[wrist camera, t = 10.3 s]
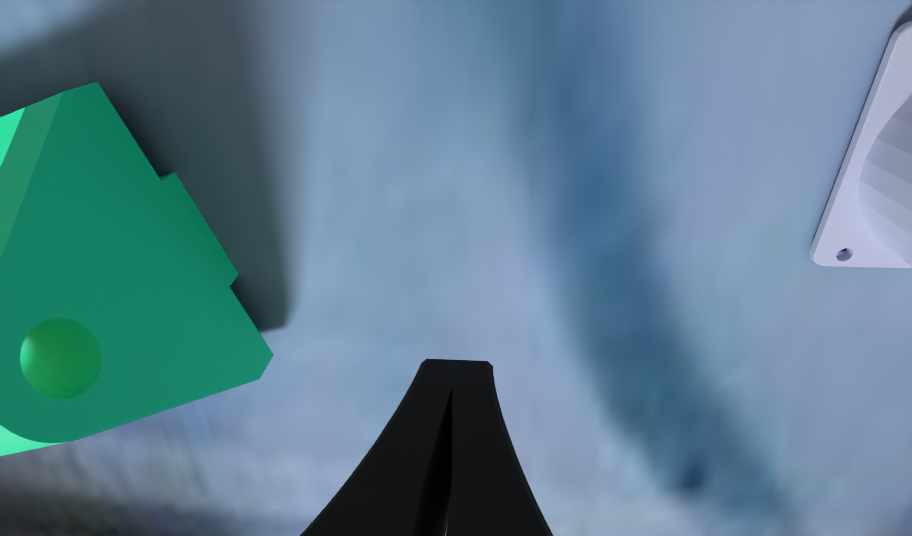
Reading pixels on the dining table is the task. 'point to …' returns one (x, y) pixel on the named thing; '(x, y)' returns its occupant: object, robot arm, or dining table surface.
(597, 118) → the dining table surface
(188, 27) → the dining table surface
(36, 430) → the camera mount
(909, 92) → the robot arm
